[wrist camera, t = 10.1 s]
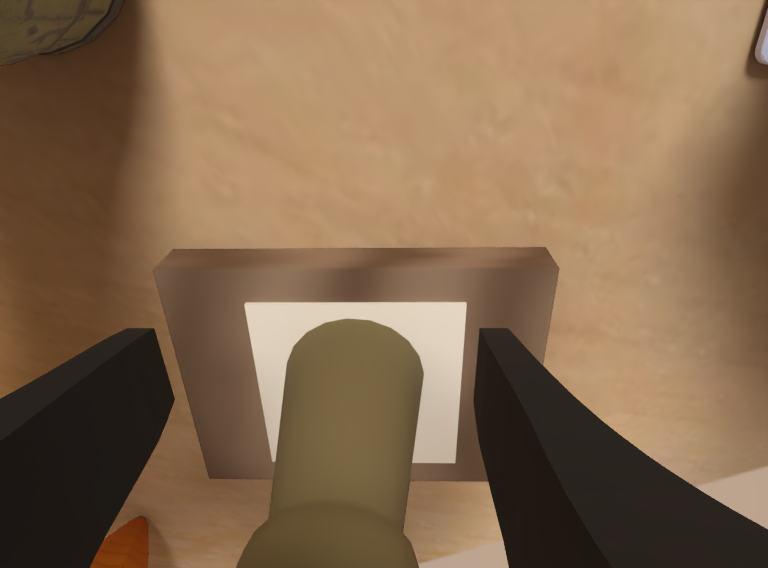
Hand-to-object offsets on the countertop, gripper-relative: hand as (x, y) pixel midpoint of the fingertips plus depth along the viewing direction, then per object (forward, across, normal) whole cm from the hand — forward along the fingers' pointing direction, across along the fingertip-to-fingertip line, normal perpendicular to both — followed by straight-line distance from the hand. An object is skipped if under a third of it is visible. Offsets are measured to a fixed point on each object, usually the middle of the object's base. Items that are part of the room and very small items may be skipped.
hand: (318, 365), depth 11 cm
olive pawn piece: (+8, 0, +7) cm, 11 cm away
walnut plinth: (+10, 0, +8) cm, 13 cm away
